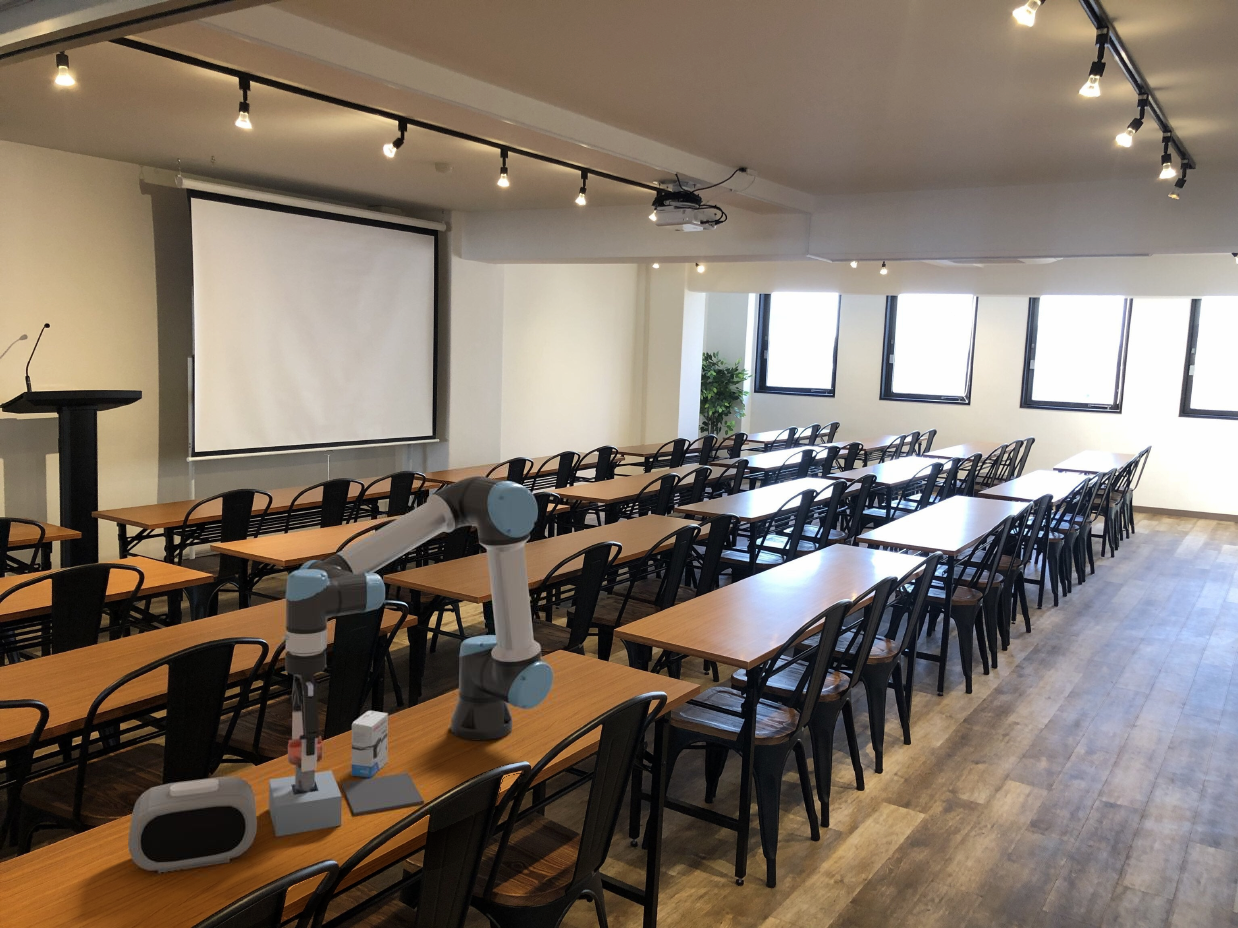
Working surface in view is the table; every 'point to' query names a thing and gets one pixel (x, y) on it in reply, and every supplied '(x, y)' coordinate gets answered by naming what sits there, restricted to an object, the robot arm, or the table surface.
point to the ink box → (369, 743)
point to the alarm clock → (192, 824)
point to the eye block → (304, 805)
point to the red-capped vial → (302, 779)
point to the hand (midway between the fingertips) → (304, 755)
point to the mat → (381, 793)
